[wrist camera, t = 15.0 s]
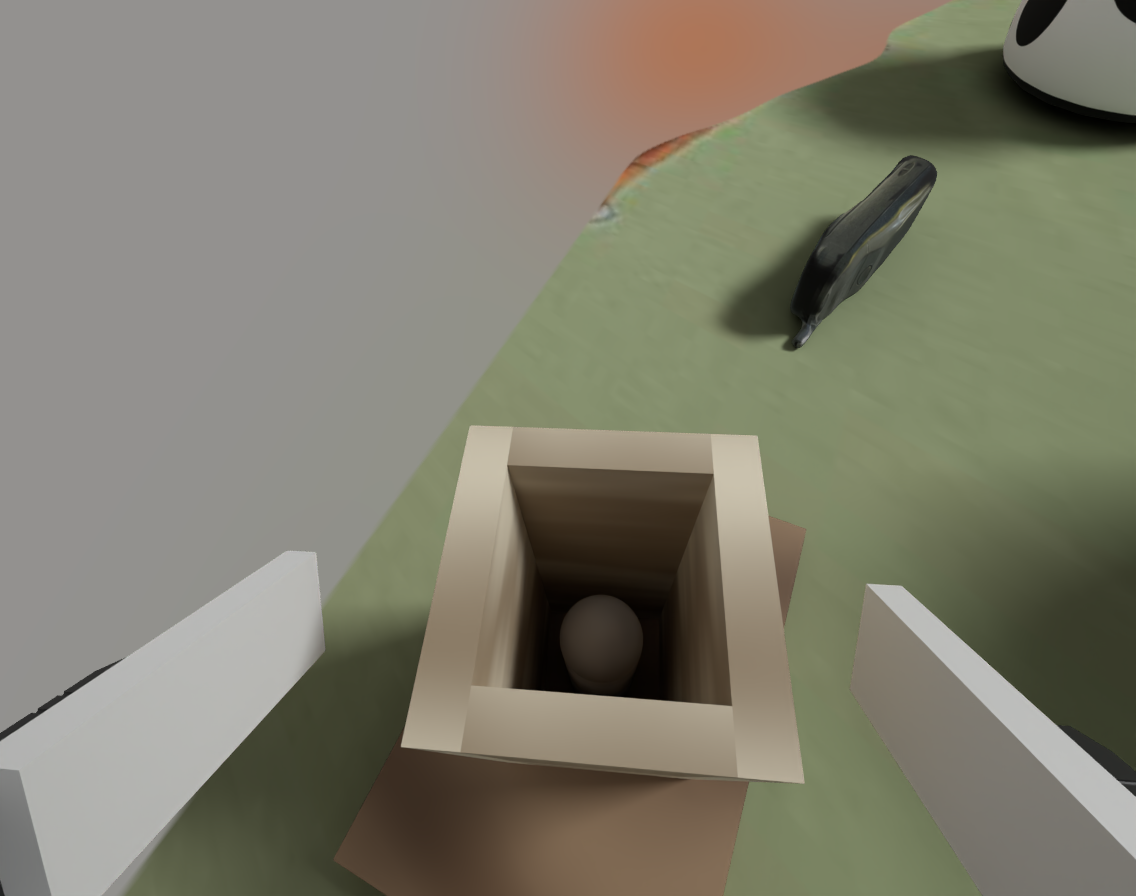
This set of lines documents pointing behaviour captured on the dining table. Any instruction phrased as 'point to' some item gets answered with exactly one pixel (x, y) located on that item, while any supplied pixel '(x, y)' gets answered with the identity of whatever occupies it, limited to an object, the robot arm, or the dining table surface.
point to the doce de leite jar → (1076, 55)
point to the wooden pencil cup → (622, 570)
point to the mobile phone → (860, 243)
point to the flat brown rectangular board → (558, 791)
